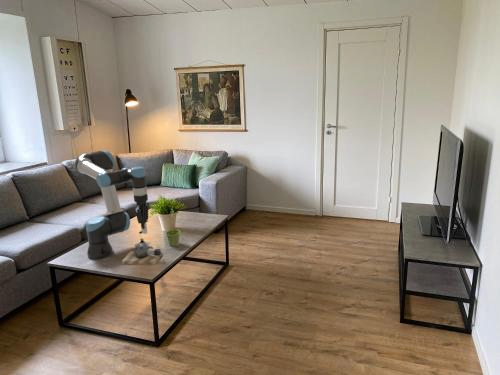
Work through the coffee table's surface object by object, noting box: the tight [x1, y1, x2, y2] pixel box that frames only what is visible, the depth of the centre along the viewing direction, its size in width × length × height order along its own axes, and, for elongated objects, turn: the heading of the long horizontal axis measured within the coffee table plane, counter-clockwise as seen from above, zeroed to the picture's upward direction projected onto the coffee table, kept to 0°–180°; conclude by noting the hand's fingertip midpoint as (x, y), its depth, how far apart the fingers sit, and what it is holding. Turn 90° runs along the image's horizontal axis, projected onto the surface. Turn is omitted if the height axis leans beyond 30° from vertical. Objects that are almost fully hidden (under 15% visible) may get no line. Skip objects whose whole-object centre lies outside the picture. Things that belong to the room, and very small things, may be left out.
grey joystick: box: [134, 230, 151, 248], centre depth 244 cm, size 12×10×10 cm
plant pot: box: [165, 229, 181, 247], centre depth 249 cm, size 9×9×9 cm
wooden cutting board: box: [121, 250, 163, 265], centre depth 231 cm, size 20×14×2 cm
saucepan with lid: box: [134, 243, 162, 258], centre depth 228 cm, size 16×8×7 cm, turn 76°
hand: (144, 233), depth 219 cm, fingers closed
